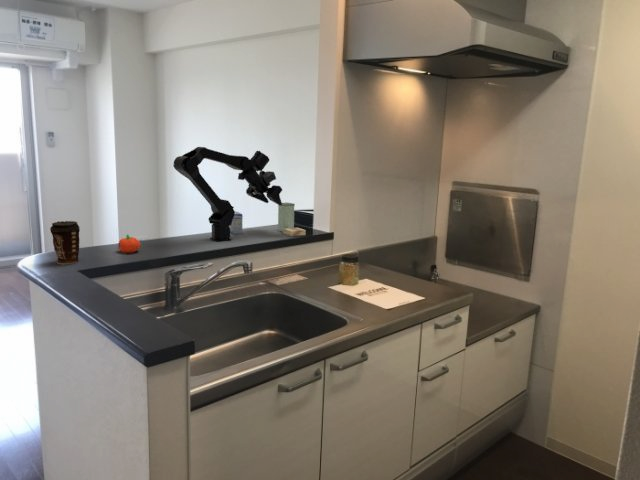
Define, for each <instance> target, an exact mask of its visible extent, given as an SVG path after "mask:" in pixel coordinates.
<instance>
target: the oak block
mask: <svg viewBox="0 0 640 480" xmlns="http://www.w3.org/2000/svg"><path fill="white" fill-rule="evenodd" d="M282 233H283V234H284V235H287V236H290V237H298V236H306V229H302V228H301V227H300V228H299V227H294V228H287V229H283V231H282Z"/></svg>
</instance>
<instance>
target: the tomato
mask: <svg viewBox="0 0 640 480" xmlns="http://www.w3.org/2000/svg"><path fill="white" fill-rule="evenodd" d="M117 245H118V250H119V251H120V252H122V253H124V254H131V253H134V252H136V251H138V250H139V249H140V247H141V242H140V240H138V239H137V238H135V237H133V236H132V237H130V235H129V234H126V237H124V238H121V239H120V240H118V243H117Z"/></svg>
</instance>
